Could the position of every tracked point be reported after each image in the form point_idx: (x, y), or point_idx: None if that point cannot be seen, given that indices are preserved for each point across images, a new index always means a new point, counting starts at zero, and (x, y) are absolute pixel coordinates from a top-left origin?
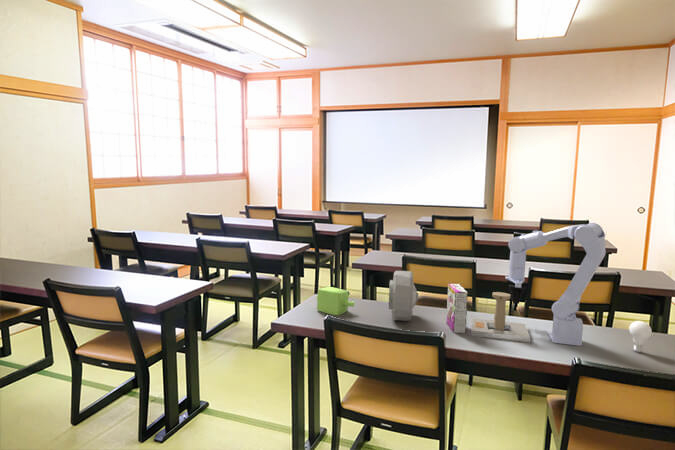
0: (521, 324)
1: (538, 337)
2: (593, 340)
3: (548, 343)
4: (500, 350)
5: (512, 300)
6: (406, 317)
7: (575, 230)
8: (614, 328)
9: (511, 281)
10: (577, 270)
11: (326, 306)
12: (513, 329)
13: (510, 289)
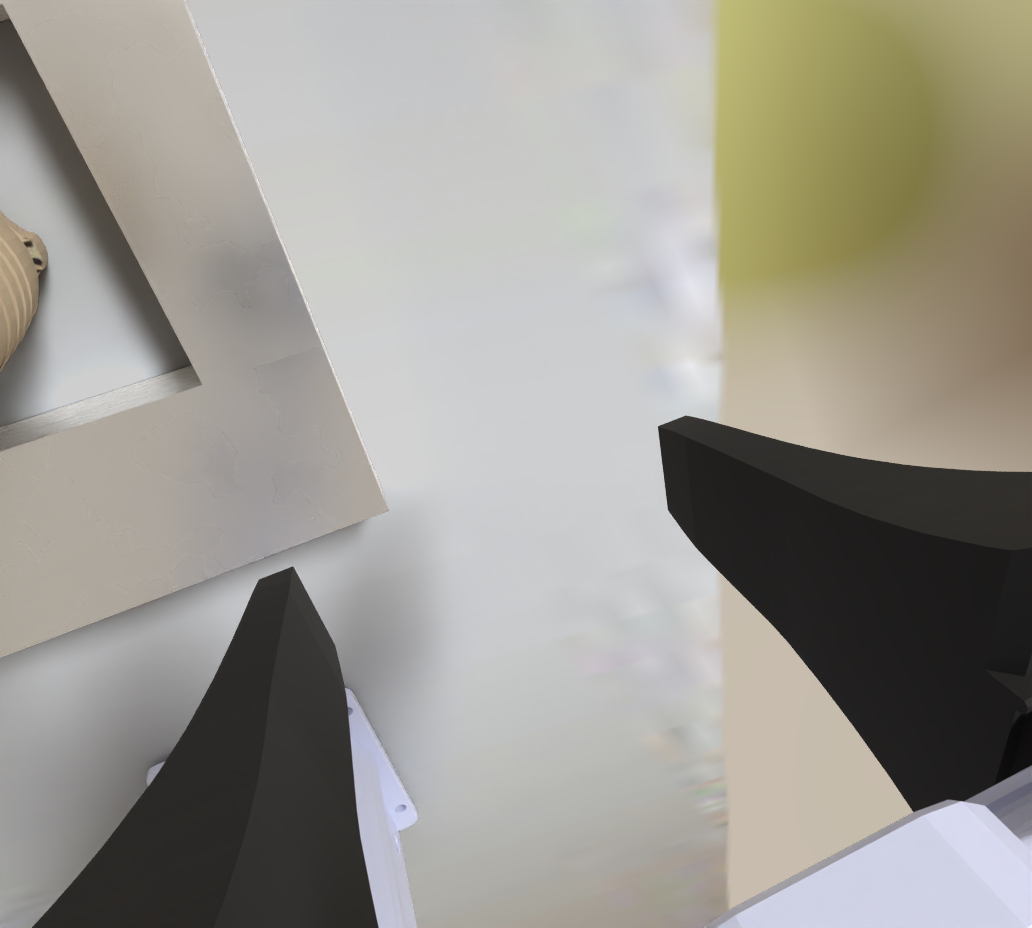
0: (332, 493)
1: (203, 647)
2: (439, 873)
3: (100, 747)
4: None
5: (269, 599)
6: None
7: None
8: (723, 849)
9: (990, 659)
10: None
11: None
12: (36, 472)
13: (782, 491)
